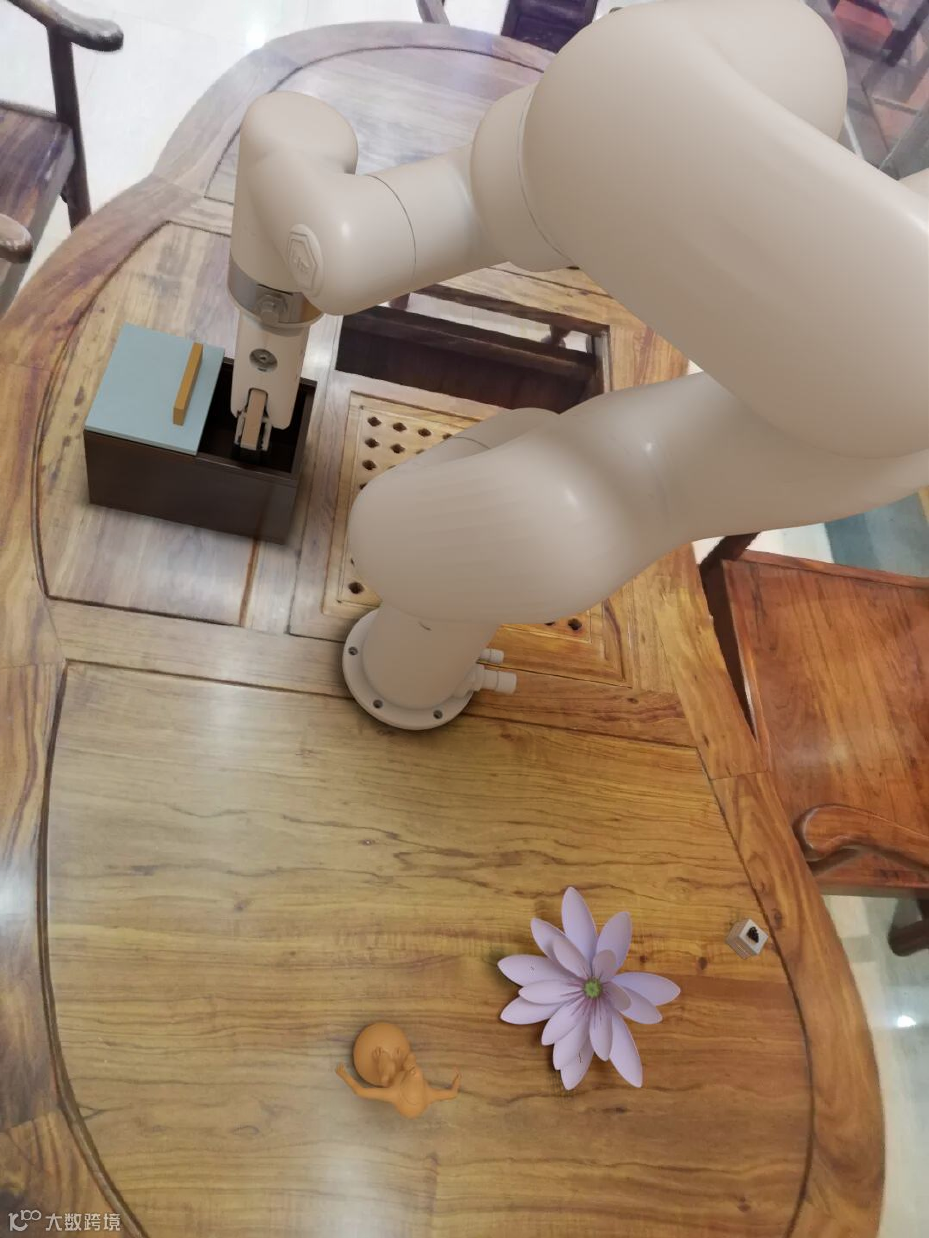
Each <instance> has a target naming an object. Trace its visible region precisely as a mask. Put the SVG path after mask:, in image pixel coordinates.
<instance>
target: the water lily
mask: <svg viewBox="0 0 929 1238" xmlns="http://www.w3.org/2000/svg"><path fill="white" fill-rule="evenodd" d="M561 923H562V927H563V930H564V932H563V931H562V930H561V929H559V928H558V927H556V926H555V925H553V924H551V923H550V922H548V921H546V920H544V919H541V918H538V917H532V918H531V919H530V929H531V933H532V937H533V939H534V941H535V943H536V944H537V946H538V948H539V949H540V950H541V951H542V953H544V954H545V955H546V956H547V957H546V956H542V955H541V956H540V955H533V954H513V955H509V956H506V957H503V958H501V959H500V960H499V961H497V966H498V969H500V971H501V972H502V974H503V975H504V976H506V977H507V978H508V979H509V980H510V981H512V982H514V983H515V984H517V985H520V986H522V988H520V989H519V990H518V992H517V993H518V995H519V996H518V997H517V998H514V999H513V1000H512V1001H511V1002H510V1003H508V1005H507V1006H506V1007H504V1009H503V1010H502V1011H501V1014H500V1019H501V1020H502V1021H504V1022H506V1023H510V1024H514V1025H531V1024H535V1023H539V1022H542V1021H545V1020H548V1019H549V1020H548V1021H547V1023H546V1024H545V1026H544V1029H543V1032H542V1034H541V1045H542V1046H550V1045H552V1044H554V1046H553V1053H552V1062H553V1066H554V1068H555V1070H556V1071H558V1070H560V1076H561V1082H562V1085H563V1086H564V1088H565V1090H566V1091H570V1090H572V1089H574V1088H576V1086H578V1085H579V1083H581V1081H582V1080H583V1078H584V1077H585V1075H586V1074H587V1072H588V1069H589V1067H590V1064H591V1062H592V1060H593V1056H594V1053H595V1054H596V1055H597V1057H598V1058H599V1059H600V1060H602V1061H604V1062H607V1061H608V1060H609V1059H610V1061H611V1063H612V1065H613V1066H614V1068H615V1069H616V1070H617V1072H618V1073H619V1074H620V1076H621V1077H622V1078H623V1079H624V1080H625V1081H626V1082H627V1083H629V1084H630V1085H632V1086H633V1087H636V1088H641V1087H642V1085H643V1068H642V1067H643V1066H642V1062H641V1058H640V1055H639V1051H638V1048H637V1046H636V1043H635V1040H634V1038H633V1035H632V1033H631V1031H630V1029H629V1027H628V1024H627V1023H626V1021H625V1020H624V1018H623V1017H622V1015H623V1016H624V1017H626V1018H627V1019H630V1020H632V1021H634V1022H636V1023H639V1024H643V1025H653V1024H654V1025H655V1024H657V1023H660V1022H661V1021H662V1020H663V1016H662V1014H661V1013H660V1011H659V1009H658V1008H657V1007H659V1006H662V1005H663V1006H664V1005H665V1004H667V1003H670V1002H671V1001H673V1000H674V999H676V998H677V997H678V996H679V995H680V993H681V988H680V987H679V986H678V984H676V983H674V982H673V981H671V980H670V979H668V978H666V977H664V976H661V975H658V974H654V973H650V972H642V971H628V972H623V973H618V974H616V973H617V972H618V971H619V970H620V969H621V967H622V966H623V964H624V963H625V961H626V958H627V956H628V953H629V950H630V946H631V942H632V935H633V926H632V925H633V924H632V918H631V915H630V912H629V911H627V910H623V911H619V912H618V913H615V914H613V916H611V917H610V918H609V919H608V920H607V921H606V922H605V924H604V926H603V927H602V929H601V931H600V934H599V933H598V930H597V927H596V924H595V921H594V918H593V916H592V913H591V911H590V909H589V907H588V904H587V903H586V901H585V899H584V898H583V896H582V895H581V894H580V892H579V891H578V890H576V888H574V887H573V886H569V887H568V888H567V889H566V890H565V892H564V895H563V898H562V903H561ZM598 934H599V935H598ZM531 967H532V968H533V969H534V970H533V969H532V968H531ZM621 1014H622V1015H621ZM579 1053H580V1057H581V1063H580V1057H579ZM580 1075H581V1076H580Z"/></svg>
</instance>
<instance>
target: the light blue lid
mask: <svg viewBox="0 0 929 1238" xmlns="http://www.w3.org/2000/svg"><path fill="white" fill-rule="evenodd" d="M225 355H226V348H222V347H220V346H217V345H213V344H208V343H204V342H200V341H197V340H194V339H190V338H186V337H182V336H179V335H175V334H171V333H167V332H164V331H160V330H156V329H153V328H149V327H145V326H141V325H137V324H133V323H130V322H125V321H124V322H123V324H122V327H121V329H120V332H119V334H118V336H117V340H116V342H115V345H114V347H113V350H112V352H111V355H110V358H109V360H108V362H107V365H106V368H105V370H104V373H103V375H102V378H101V381H100V384H99V386H98V387H97V388H98V389H97V391H96V393H95V396H94V399H93V402H92V404H91V406H90V408H89V409H90V410H89V412H88V414H87V417H86V419H85V422H84V428H85V429H86V430H90V431H94V432H98V433H103V434H107V435H111V436H115V437H120V438H124V439H128V440H132V441H137V442H141V443H145V444H149V445H154V446H158V447H162V448H166V449H171V450H175V451H179V452H183V453H187V454H192V455H196V454H197V451H198V447H199V444H200V440H201V437H202V433H203V430H204V426H205V422H206V419H207V415H208V412H209V408H210V405H211V401H212V398H213V394H214V390H215V387H216V383H217V380H218V376H219V373H220V369H221V365H222V362H223V358H224V357H225Z"/></svg>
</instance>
